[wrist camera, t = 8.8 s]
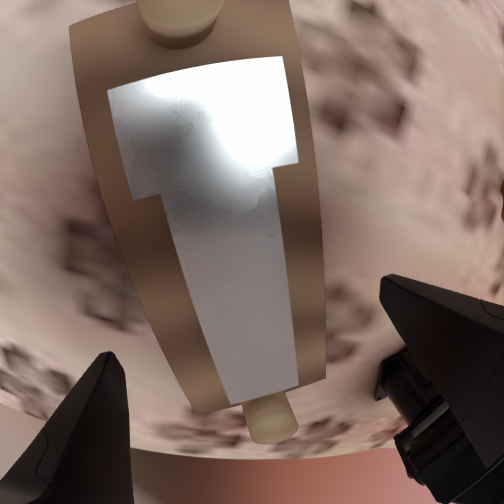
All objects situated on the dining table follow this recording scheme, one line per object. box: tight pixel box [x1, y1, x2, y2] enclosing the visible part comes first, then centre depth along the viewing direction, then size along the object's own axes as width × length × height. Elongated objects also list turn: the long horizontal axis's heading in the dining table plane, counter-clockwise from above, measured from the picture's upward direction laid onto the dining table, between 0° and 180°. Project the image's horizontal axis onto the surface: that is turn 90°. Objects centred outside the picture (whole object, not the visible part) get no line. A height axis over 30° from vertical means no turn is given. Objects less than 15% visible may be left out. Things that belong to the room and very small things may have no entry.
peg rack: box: [69, 0, 326, 444], centre depth 13 cm, size 25×10×6 cm, turn 9°
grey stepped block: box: [107, 56, 299, 405], centre depth 13 cm, size 16×6×3 cm, turn 9°
